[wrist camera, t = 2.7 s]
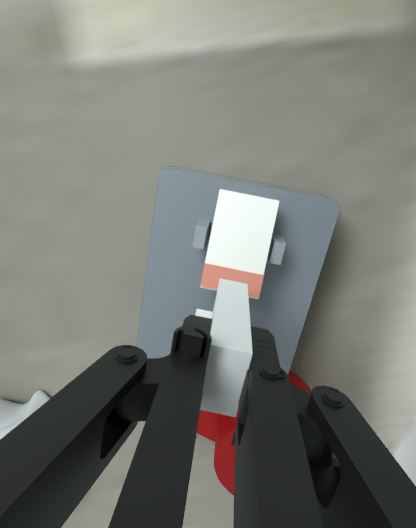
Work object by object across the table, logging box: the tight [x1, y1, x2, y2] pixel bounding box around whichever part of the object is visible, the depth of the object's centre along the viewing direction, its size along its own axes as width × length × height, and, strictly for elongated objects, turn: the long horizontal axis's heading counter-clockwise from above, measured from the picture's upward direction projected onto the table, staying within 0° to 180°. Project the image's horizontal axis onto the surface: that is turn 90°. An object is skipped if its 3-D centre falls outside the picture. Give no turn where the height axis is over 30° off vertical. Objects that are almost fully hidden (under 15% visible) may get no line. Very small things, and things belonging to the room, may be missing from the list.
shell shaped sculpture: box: [0, 390, 51, 439], centre depth 33 cm, size 13×13×6 cm
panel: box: [136, 166, 342, 375], centre depth 25 cm, size 15×12×7 cm
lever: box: [197, 371, 311, 495], centre depth 29 cm, size 18×9×7 cm, turn 77°
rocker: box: [200, 189, 279, 299], centre depth 20 cm, size 6×4×2 cm, turn 170°
